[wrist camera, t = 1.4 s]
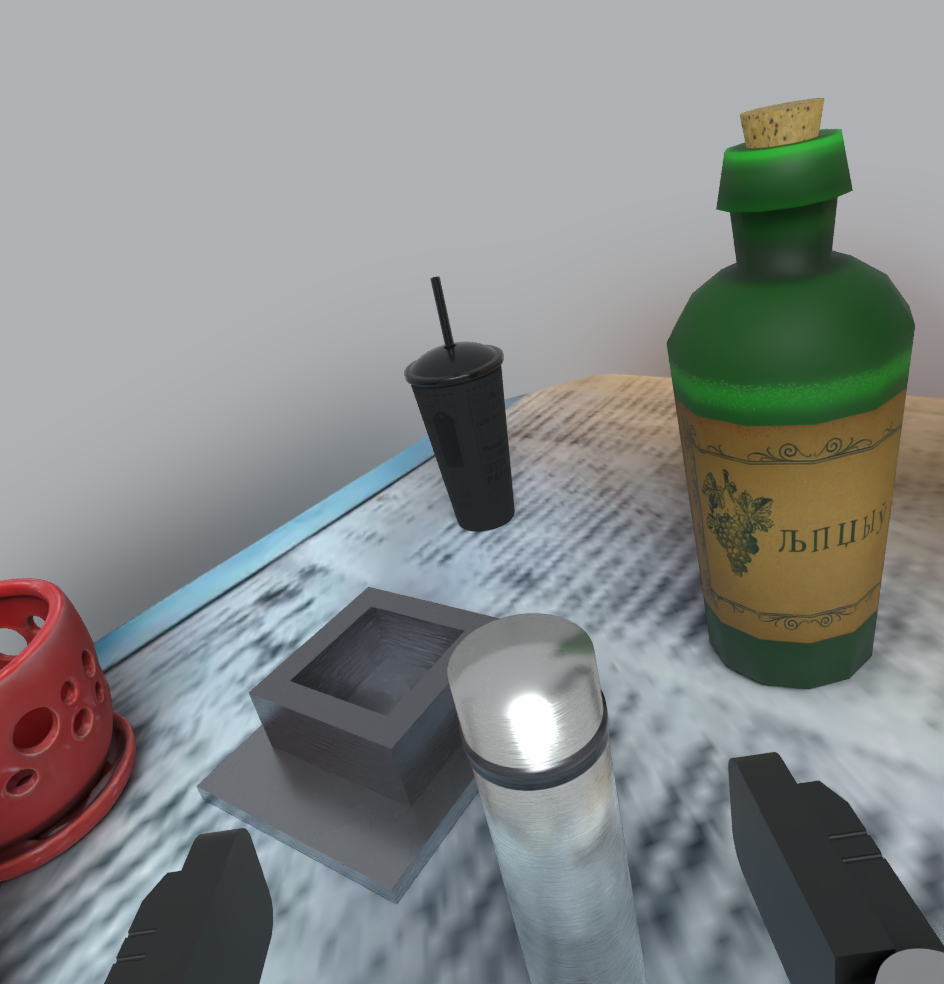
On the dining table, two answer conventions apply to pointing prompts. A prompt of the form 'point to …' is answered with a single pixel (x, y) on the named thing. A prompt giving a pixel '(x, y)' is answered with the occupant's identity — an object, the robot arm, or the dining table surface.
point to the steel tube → (549, 795)
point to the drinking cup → (466, 424)
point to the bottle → (790, 412)
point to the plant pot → (54, 731)
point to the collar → (359, 743)
